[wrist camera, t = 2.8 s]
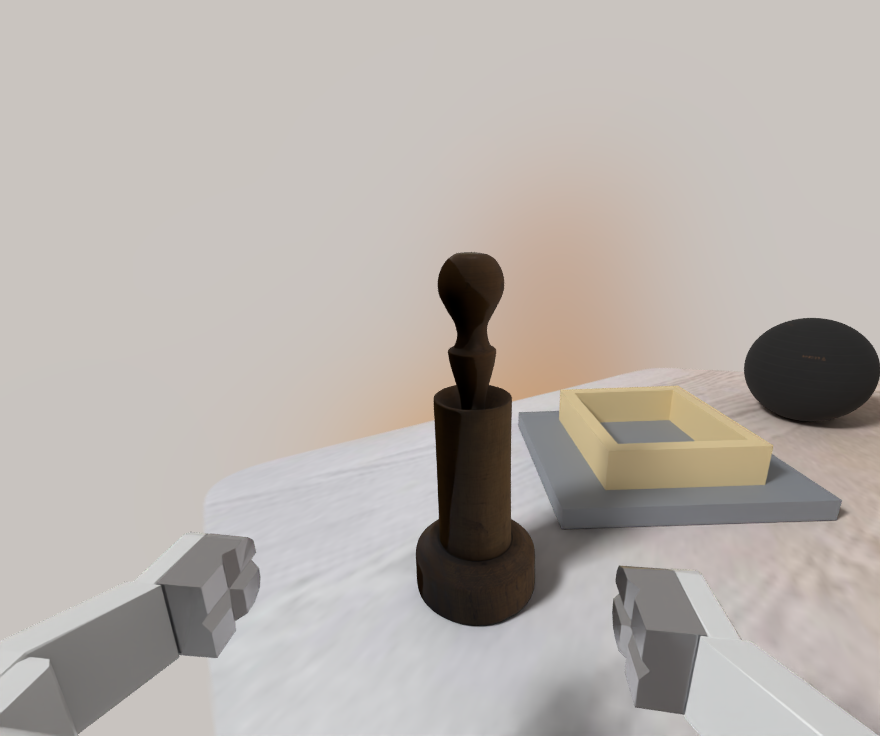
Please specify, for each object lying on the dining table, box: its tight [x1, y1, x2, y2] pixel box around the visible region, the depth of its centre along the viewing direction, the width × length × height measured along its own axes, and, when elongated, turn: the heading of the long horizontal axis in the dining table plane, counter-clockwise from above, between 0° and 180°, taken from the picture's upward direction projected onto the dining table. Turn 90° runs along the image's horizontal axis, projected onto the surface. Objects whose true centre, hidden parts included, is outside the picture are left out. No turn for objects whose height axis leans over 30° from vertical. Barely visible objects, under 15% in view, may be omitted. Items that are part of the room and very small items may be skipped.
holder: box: [518, 386, 842, 529], centre depth 35 cm, size 18×16×4 cm
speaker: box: [744, 318, 880, 421], centre depth 42 cm, size 10×10×10 cm
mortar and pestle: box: [416, 252, 535, 626], centre depth 22 cm, size 7×6×18 cm
